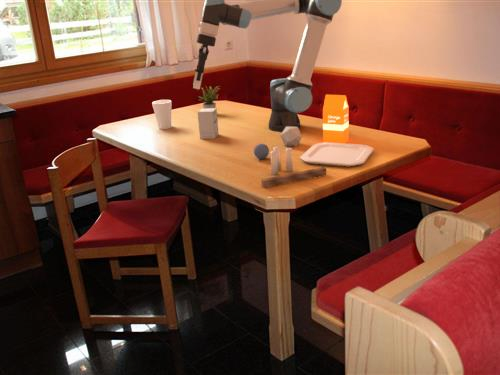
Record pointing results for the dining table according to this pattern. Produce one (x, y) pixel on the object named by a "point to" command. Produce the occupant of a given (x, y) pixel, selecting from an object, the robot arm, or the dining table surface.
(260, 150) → the ball
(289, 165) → the pin
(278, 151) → the front pin
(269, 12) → the robot arm
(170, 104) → the foam cup
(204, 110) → the supplement box
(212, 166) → the dining table surface
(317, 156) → the plate
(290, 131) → the die
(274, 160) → the pin
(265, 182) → the board
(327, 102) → the orange juice
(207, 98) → the house plant
